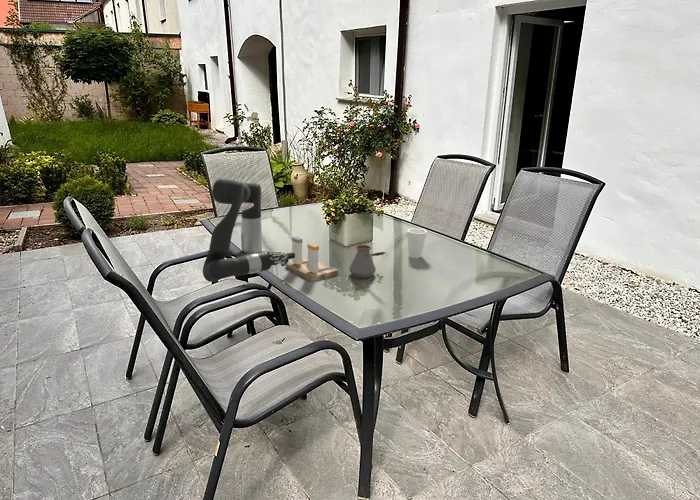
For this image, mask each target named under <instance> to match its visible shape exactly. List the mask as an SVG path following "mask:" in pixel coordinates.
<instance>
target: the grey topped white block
mask: <svg viewBox="0 0 700 500" xmlns="http://www.w3.org/2000/svg"><path fill="white" fill-rule="evenodd" d="M303 243H304V242H303V238H302V237H298V236H291V244H292V245H291V246H292V248H291V250H292V251H291V252H293V253H295V258H293V259H291V260H292V261H291V262H293V263H295V264H297V265H299V264H302V260H303Z"/></svg>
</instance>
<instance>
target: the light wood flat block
mask: <svg viewBox="0 0 700 500" xmlns="http://www.w3.org/2000/svg"><path fill="white" fill-rule="evenodd" d="M287 268H288V269H287ZM285 269H287V270H289V269H290V270H289V271H291V270H292V271H291V272H293V271H294V273H295V274H297V275H298V276H300V275H301V277H302V276H303V278H304V277H305V278H304V279H306V278H307V279H306V280H308V279H309V280H308V281H309V282H314V280H315V281H318V279H319V280H322V279H326V278H329V277H334V276H336V275H338V274H339V269H337V268H334V267H332V266H330V265H328V264H326V263H324V262H322V261H319V260H318V272H316V273H312V272H310V271H308V257H307V258H304V259H303V258H302V264H299V265H297V264H295V263H293V262H292V261H291V262H288V263H287V264H286V265H285Z"/></svg>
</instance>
